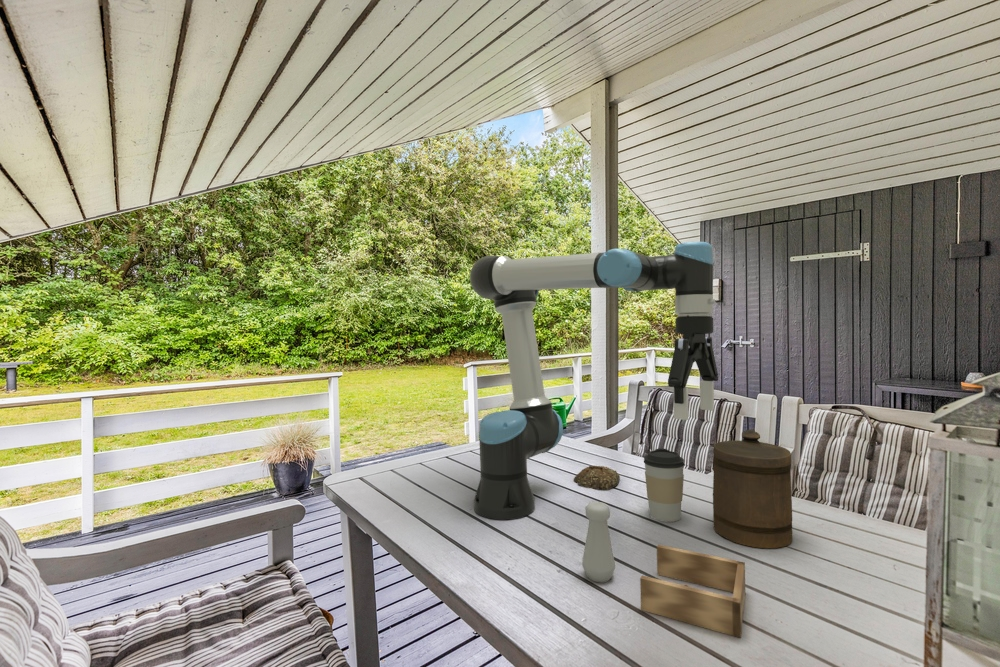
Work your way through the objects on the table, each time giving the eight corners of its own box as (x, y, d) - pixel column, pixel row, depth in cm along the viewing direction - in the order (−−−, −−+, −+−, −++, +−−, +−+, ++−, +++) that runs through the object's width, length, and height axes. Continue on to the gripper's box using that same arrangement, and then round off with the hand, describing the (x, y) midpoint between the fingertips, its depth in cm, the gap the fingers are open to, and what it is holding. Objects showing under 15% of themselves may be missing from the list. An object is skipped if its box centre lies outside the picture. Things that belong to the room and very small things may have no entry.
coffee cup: (689, 524, 104) (687, 458, 104) (646, 522, 106) (645, 456, 106) (681, 509, 113) (680, 447, 113) (642, 507, 115) (641, 446, 115)
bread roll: (625, 480, 136) (624, 463, 136) (610, 493, 126) (610, 475, 126) (583, 473, 143) (583, 457, 143) (567, 485, 133) (566, 468, 133)
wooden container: (806, 536, 97) (804, 431, 97) (768, 556, 89) (766, 442, 89) (737, 513, 110) (735, 420, 110) (699, 529, 102) (697, 429, 102)
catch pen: (640, 609, 74) (640, 578, 73) (658, 571, 85) (657, 544, 85) (740, 637, 66) (740, 602, 66) (745, 592, 78) (744, 562, 78)
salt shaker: (579, 581, 82) (577, 508, 82) (585, 565, 87) (584, 496, 87) (613, 587, 80) (611, 512, 80) (617, 571, 85) (616, 500, 85)
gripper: (686, 314, 88) (687, 426, 89) (733, 315, 106) (733, 408, 106) (649, 315, 94) (650, 420, 94) (699, 316, 111) (700, 404, 112)
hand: (694, 414), depth 100 cm, fingers open, 13 cm apart
